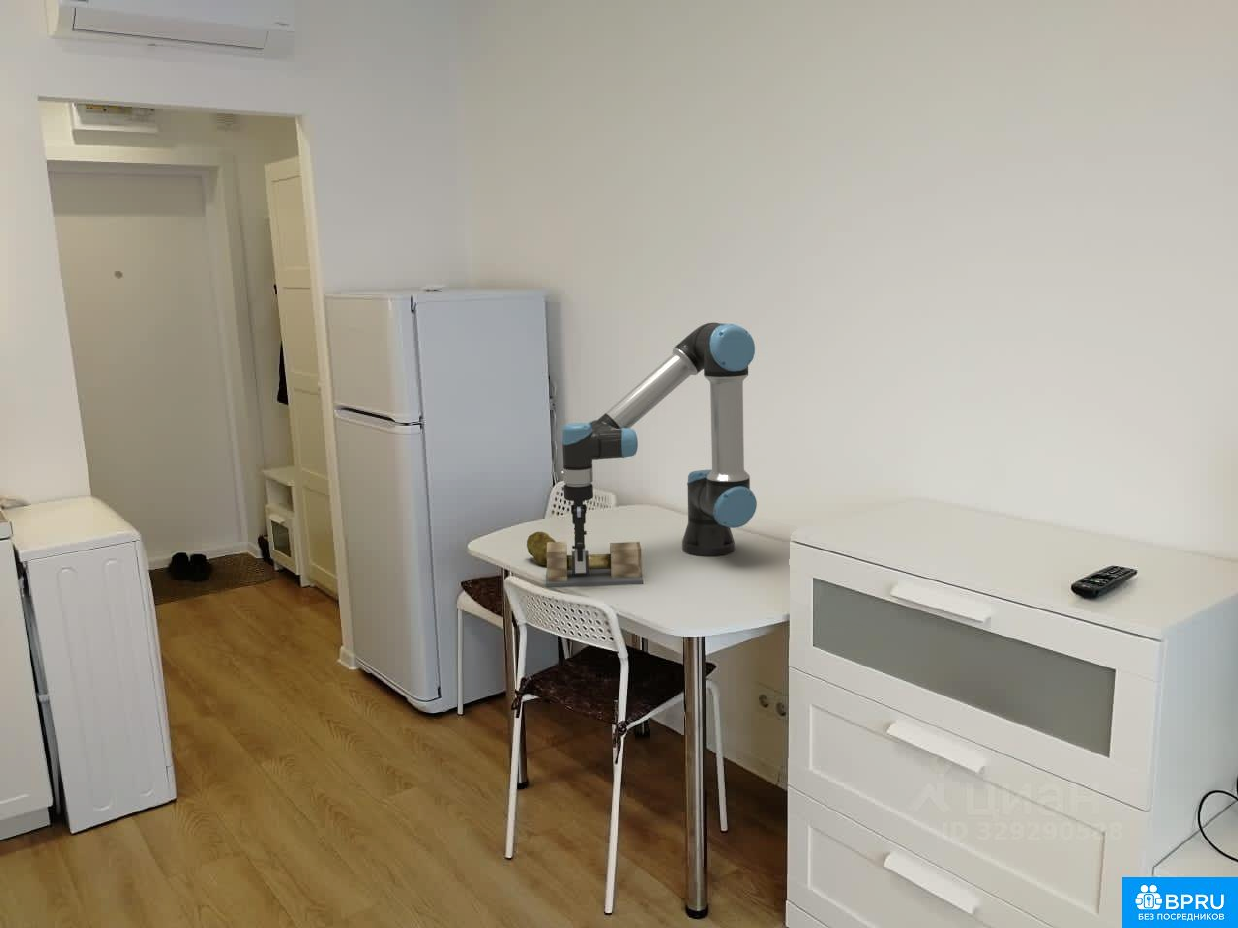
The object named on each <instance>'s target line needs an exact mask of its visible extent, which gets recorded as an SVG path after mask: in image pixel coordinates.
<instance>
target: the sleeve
mask: <svg viewBox="0 0 1238 928" xmlns="http://www.w3.org/2000/svg"><path fill="white" fill-rule="evenodd" d="M609 554H611V577H612V578H632V577H643V573H642V572H643V570H642V568H643V567H642V562H643V561H642V547H641V542H640V541H635V542H634V541H633V542H632V541H629V542H609Z"/></svg>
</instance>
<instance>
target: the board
mask: <svg viewBox="0 0 1238 928" xmlns="http://www.w3.org/2000/svg"><path fill="white" fill-rule="evenodd" d="M545 573H546V574H545V588H559V587H561V588H565V587H588V586H589V587H590V586H591V587H593V586H616V585H617V586H619V585H622V586H623V585H624V586H625V585H644V577H643V576H642V577H632V578H612V577H611V569H595V570H589V574H572V570H567V581H550V582H548V577H547V571H546V572H545Z"/></svg>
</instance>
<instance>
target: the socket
mask: <svg viewBox="0 0 1238 928" xmlns="http://www.w3.org/2000/svg"><path fill="white" fill-rule="evenodd" d="M567 555H568V554H567V541H556V542H547V566H546V572H547V577H548V582H550V581H567V557H566V556H567Z"/></svg>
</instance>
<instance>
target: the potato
mask: <svg viewBox="0 0 1238 928" xmlns="http://www.w3.org/2000/svg"><path fill="white" fill-rule="evenodd" d="M547 542H557V541H556V540H555V539H554V538H552V537H551V536H550V535H549V534H548V533H547V532H543V531H536V532H533V533H532V534H530V535H529V536H528V538H527V540H526V548H527V550H528V553H529V554H530V555H531V556H532V558H533V560H534V561H535V563H537V564H538V565H540V566H545V567H547Z"/></svg>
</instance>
